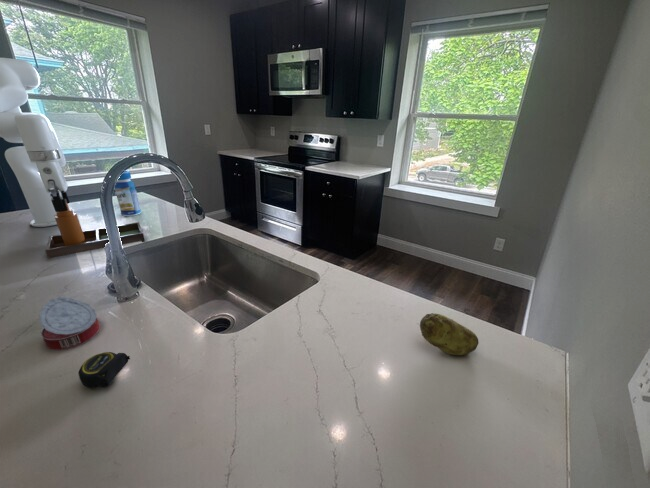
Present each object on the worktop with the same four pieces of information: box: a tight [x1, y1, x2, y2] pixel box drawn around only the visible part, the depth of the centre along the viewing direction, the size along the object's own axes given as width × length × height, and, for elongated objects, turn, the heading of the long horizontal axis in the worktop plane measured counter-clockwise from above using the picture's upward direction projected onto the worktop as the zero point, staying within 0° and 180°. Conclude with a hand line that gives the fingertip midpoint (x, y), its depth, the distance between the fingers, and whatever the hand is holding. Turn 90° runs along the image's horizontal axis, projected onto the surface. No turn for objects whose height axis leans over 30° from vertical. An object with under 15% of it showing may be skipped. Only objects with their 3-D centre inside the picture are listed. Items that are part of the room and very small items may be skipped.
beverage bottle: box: [114, 170, 142, 217], centre depth 138 cm, size 8×8×20 cm
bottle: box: [55, 198, 86, 246], centre depth 105 cm, size 6×6×18 cm
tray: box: [45, 221, 146, 259], centre depth 112 cm, size 14×28×4 cm, turn 126°
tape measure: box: [77, 351, 131, 389], centre depth 58 cm, size 7×7×4 cm
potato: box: [419, 312, 479, 356], centre depth 68 cm, size 8×13×8 cm, turn 63°
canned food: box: [38, 296, 101, 351], centre depth 68 cm, size 11×10×10 cm
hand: (63, 207), depth 102 cm, fingers open, 9 cm apart
